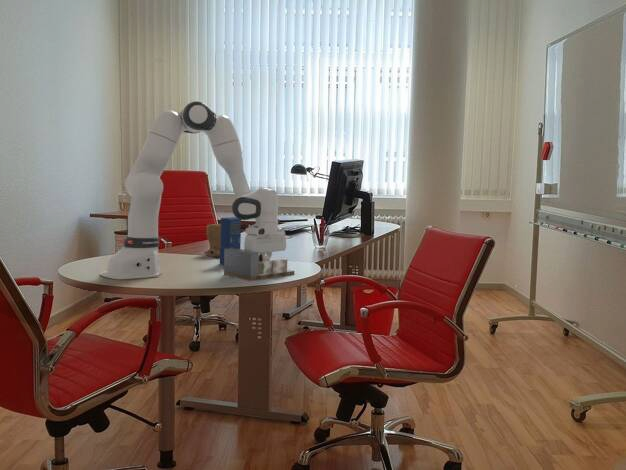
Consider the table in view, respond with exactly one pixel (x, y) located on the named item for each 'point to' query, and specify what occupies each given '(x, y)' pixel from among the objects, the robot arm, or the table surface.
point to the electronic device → (230, 235)
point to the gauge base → (267, 270)
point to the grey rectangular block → (241, 262)
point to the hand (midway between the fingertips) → (265, 263)
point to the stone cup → (214, 239)
